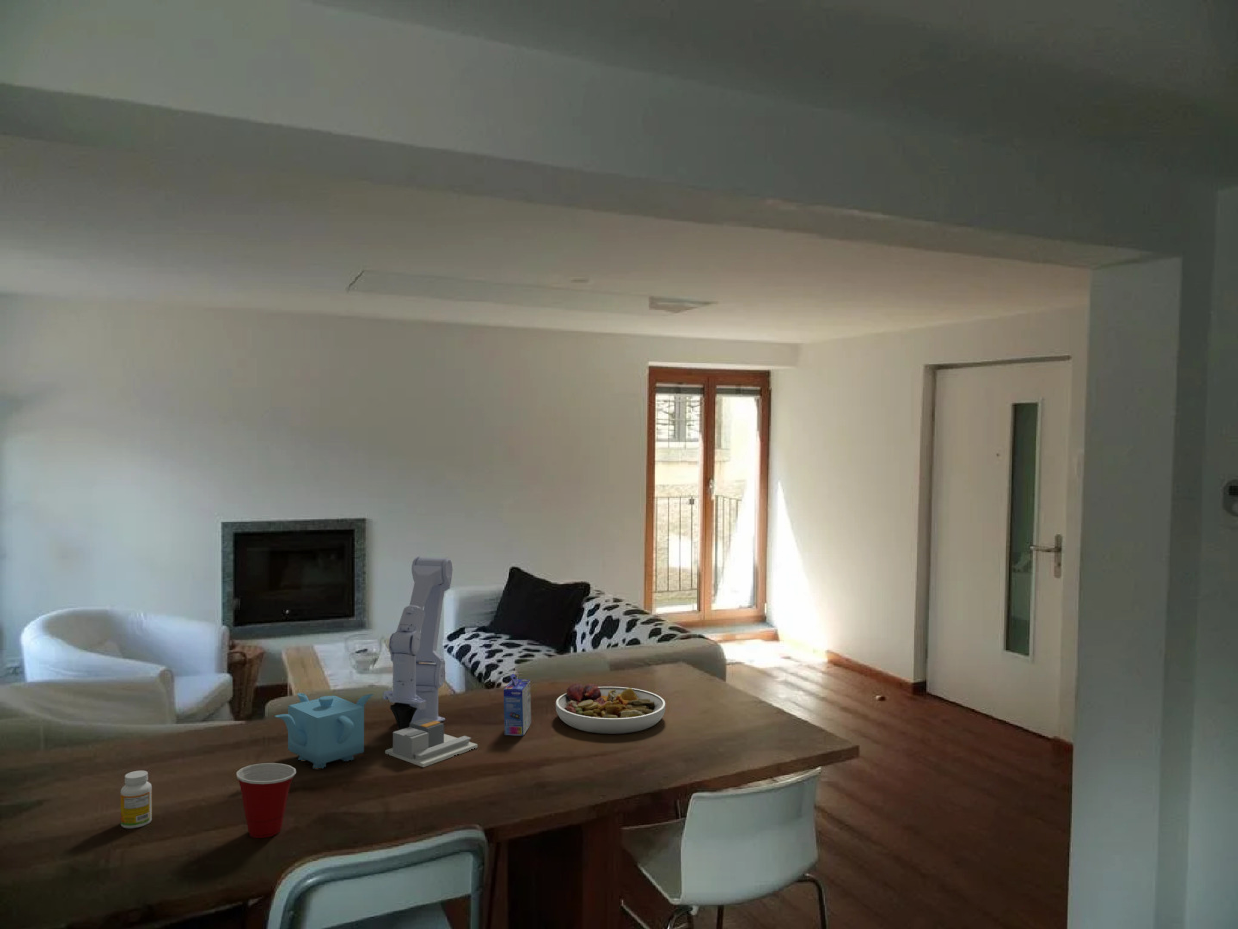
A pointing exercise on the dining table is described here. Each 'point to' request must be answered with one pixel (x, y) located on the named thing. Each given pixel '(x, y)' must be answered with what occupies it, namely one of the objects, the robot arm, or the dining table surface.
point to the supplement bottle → (136, 800)
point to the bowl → (609, 709)
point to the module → (430, 730)
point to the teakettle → (325, 728)
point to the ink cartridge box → (517, 706)
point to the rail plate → (439, 756)
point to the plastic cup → (265, 796)
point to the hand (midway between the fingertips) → (403, 732)
